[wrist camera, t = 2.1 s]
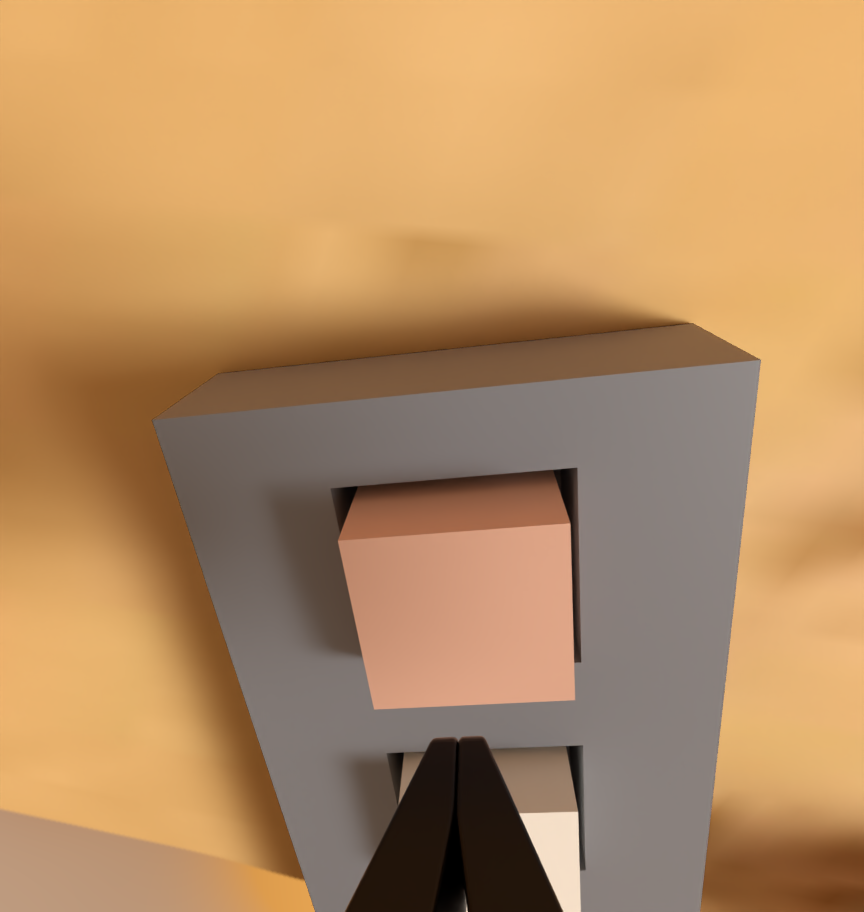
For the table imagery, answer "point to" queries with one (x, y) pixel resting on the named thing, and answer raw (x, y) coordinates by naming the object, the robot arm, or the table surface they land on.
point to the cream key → (538, 810)
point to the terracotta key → (462, 590)
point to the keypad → (593, 578)
